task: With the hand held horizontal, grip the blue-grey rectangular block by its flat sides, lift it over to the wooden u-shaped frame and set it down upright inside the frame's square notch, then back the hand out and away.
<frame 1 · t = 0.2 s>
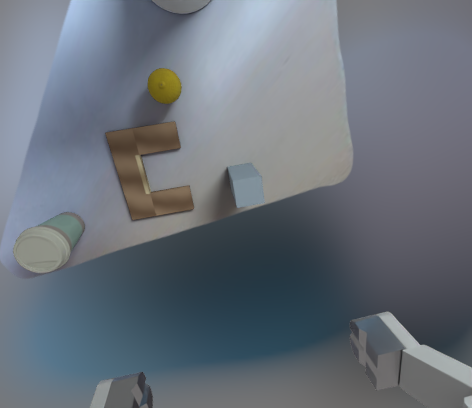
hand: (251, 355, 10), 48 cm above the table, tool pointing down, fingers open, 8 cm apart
lemon: (167, 87, 50), on the table
wooden u-shaped frame: (165, 170, 55), on the table
blue-grey rectangular block: (240, 176, 57), on the table
coffee cup: (70, 224, 57), on the table
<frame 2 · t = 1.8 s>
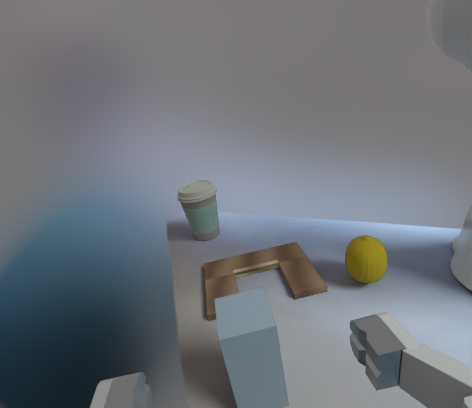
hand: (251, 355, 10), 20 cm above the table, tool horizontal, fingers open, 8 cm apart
lemon: (365, 282, 41), on the table
wooden u-shaped frame: (262, 287, 43), on the table
blue-grey rectangular block: (259, 387, 29), on the table
coffee cup: (207, 235, 63), on the table
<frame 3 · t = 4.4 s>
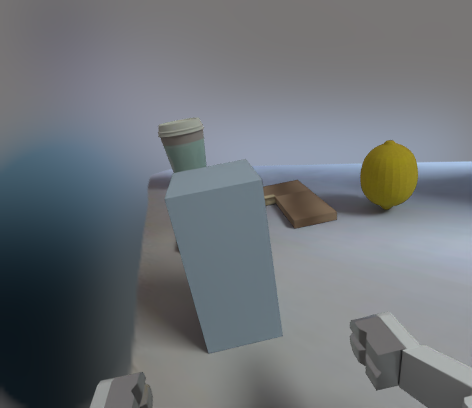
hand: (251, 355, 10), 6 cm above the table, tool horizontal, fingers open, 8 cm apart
lemon: (386, 210, 32), on the table
wooden u-shaped frame: (253, 220, 34), on the table
blue-grey rectangular block: (240, 316, 20), on the table
coffee cup: (193, 184, 54), on the table
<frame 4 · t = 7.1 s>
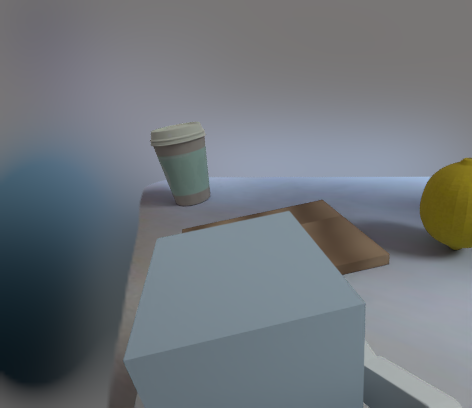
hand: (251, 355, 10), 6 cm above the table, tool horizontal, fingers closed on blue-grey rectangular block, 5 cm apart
lemon: (454, 250, 23), on the table
wooden u-shaped frame: (273, 260, 26), on the table
coffee cup: (193, 200, 46), on the table
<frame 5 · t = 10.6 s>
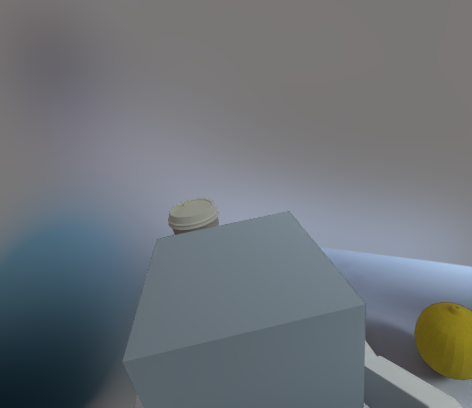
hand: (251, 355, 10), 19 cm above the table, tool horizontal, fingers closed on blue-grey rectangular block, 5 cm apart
lemon: (444, 371, 27), on the table
coffee cup: (206, 267, 49), on the table
when the fingers open (7 cm above the table, at t = 14.4 s): blue-grey rectangular block drops 1 cm, on the table.
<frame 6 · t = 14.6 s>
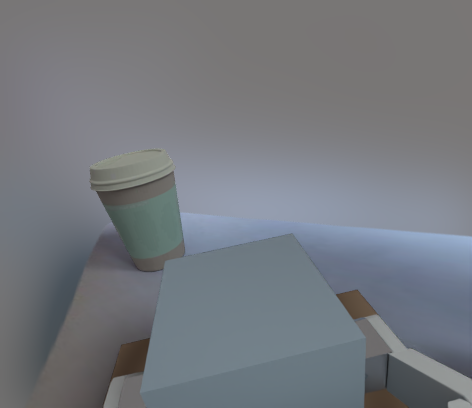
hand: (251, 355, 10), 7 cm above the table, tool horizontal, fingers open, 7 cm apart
coffee cup: (161, 258, 32), on the table
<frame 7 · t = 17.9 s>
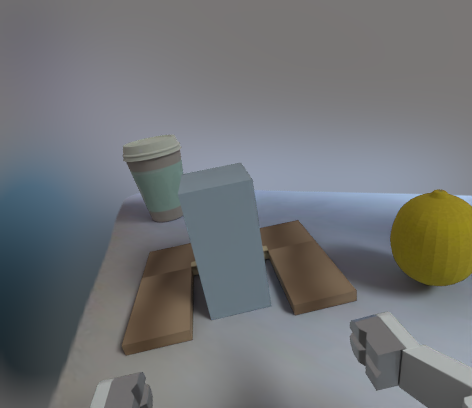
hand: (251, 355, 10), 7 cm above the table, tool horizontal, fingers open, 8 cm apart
lemon: (427, 285, 22), on the table
wooden u-shaped frame: (237, 292, 24), on the table
blue-grey rectangular block: (237, 292, 24), on the table
coffee cup: (170, 215, 44), on the table
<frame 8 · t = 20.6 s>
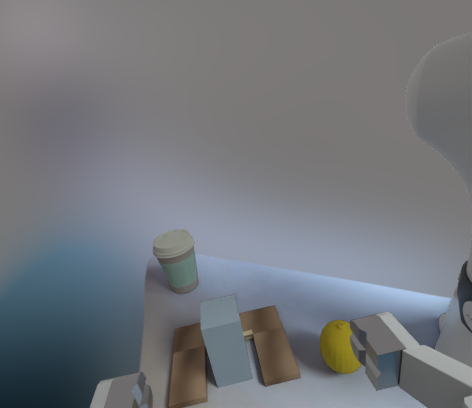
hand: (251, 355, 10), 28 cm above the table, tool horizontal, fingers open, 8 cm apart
lemon: (342, 368, 38), on the table
wooden u-shaped frame: (232, 366, 40), on the table
blue-grey rectangular block: (233, 366, 40), on the table
coffee cup: (185, 285, 60), on the table
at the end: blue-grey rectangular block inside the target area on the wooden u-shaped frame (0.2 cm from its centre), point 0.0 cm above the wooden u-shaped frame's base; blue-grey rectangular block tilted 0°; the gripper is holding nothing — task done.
